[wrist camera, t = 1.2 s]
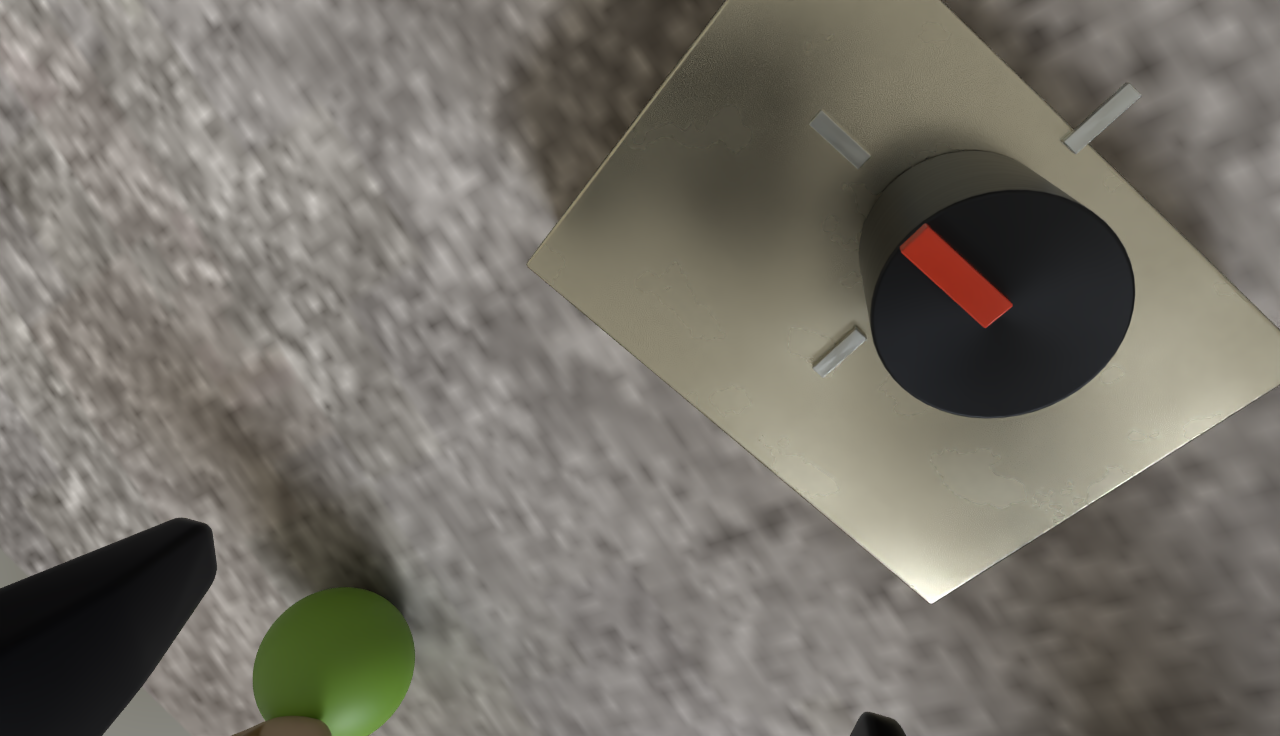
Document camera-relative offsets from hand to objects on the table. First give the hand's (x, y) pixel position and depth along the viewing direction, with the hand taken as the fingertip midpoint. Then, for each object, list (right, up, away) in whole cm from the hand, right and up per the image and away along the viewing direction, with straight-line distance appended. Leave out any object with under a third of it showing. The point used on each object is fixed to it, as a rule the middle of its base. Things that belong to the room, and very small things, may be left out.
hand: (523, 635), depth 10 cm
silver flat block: (+8, +6, +9) cm, 14 cm away
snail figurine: (-9, -6, +20) cm, 23 cm away
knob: (+8, +6, +6) cm, 12 cm away
